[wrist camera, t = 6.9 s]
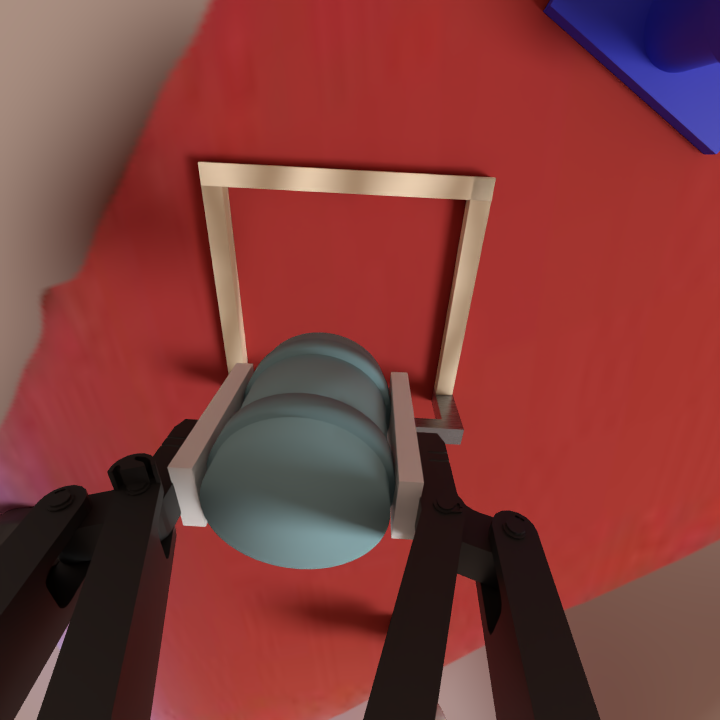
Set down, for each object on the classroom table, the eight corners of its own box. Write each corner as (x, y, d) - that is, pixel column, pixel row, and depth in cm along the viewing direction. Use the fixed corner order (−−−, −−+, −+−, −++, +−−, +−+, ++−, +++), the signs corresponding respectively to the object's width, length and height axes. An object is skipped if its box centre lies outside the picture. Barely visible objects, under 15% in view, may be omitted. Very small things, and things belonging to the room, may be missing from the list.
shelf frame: (235, 389, 37) (231, 396, 36) (204, 161, 27) (197, 161, 26) (447, 401, 37) (449, 409, 36) (491, 177, 27) (495, 178, 26)
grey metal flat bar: (235, 389, 37) (211, 430, 31) (233, 375, 36) (208, 414, 31) (447, 401, 37) (460, 444, 31) (450, 388, 36) (463, 429, 31)
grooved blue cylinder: (262, 436, 19) (210, 566, 13) (249, 324, 16) (173, 427, 10) (384, 443, 19) (388, 577, 13) (394, 332, 16) (406, 440, 10)
